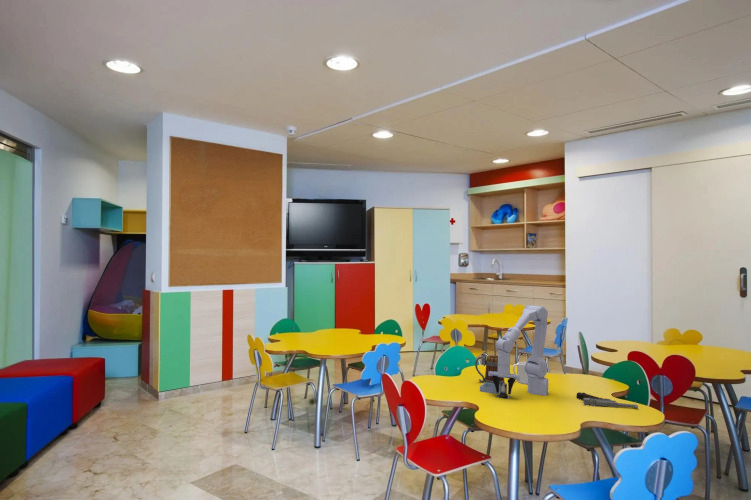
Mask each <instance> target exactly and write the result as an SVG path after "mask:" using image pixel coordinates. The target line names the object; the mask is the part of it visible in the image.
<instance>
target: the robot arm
mask: <svg viewBox="0 0 751 500" xmlns="http://www.w3.org/2000/svg"><path fill="white" fill-rule="evenodd" d="M548 315H549V311H548V310H547V309H546V307H545V306H543V305H539V306H538V305H531V304H527V305H526V306H525V308H524V309H523V310H522V315H521V316H520V317H519V319H518V320H517V322H516V323H515V325H514V326H511V327H509V328H507V331H506V333H505V334H504V335H503V336H502V337H501V338H499V339H498V340H497V341H496V342H495V344H494V346H495V349H496V353H497V356H498V372H492V371H489V372H488V376H493V377H492V380H493V382H494V384H495V388H496V392H499V380H500V377H502V378H504V379H507V394H508V395H511V393H512V391H513V390H512V389H513V387H514V384H515V383H516V381H517V380H519V379H520V375H517V374H516V375H515V374H514V373H511V352H512V351H513V350H514V345H515V342H516V341H517V340H518V338H520V336H521V330H523V329H524V327H526V326H527V325H528V323H529V322H530V321H532V323H533V324H535V327H534V331H533V333H534V335H533V341H532V348H531V355H530V356H529V357H528V358H527V360H526V361H525V362H526V364H525V371H526V373H527V375H528V385H527V393H529V394H531V395H537V396H538V395H539V396H544V397H545V396H547V395H548V394H549V378H548V377H546V375H547V372H548V367H547V362H546V360H545V359H544V350H545V344H546V336H547V331H548V330H547V329H548Z"/></svg>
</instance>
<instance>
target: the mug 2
mask: <svg viewBox="0 0 751 500" xmlns="http://www.w3.org/2000/svg"><path fill="white" fill-rule="evenodd" d="M526 362H527V361H517V363H514V364H513V365H512V372H513V373H512V374H515V375H520V379H519V380H516V382H517V383H518V384H521V385H527V386H528V375H527V373H526V371H525V364H526ZM515 367H516V368H515ZM516 369H517V370H516ZM516 371H517V372H516Z"/></svg>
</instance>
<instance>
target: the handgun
mask: <svg viewBox="0 0 751 500" xmlns="http://www.w3.org/2000/svg"><path fill="white" fill-rule="evenodd" d="M576 399H578V400H580V399H581V401H583V402H582V403H584V404H583V405H584V406H586V405H589V406H591V405H592V406H591V407H594V406H595V407H596V406H598V405H599V406H601V407H609V406H611V407H612V408H618V407H620V408H633V409H638V408H639V405H638V404H635V403H634V404H632V403H631V404H630V403H623V402H618V401H616V400H614V399H610V398H603V397H599V396H594V395H592V394H589V393H585V392H581V391H578V392H576ZM611 407H610V408H611Z"/></svg>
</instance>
